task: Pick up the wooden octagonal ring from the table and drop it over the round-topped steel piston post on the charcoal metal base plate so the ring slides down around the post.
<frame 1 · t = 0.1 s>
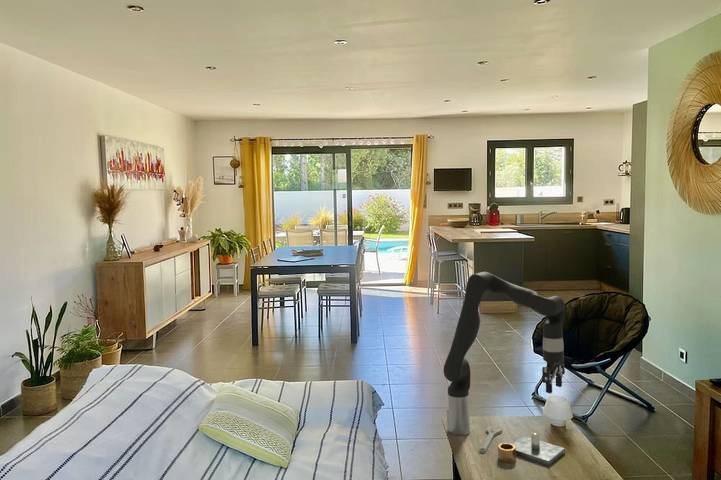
hand: (554, 389, 204), 29 cm above the table, fingers open, 8 cm apart
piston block: (535, 452, 215), on the table
wooden octagonal ring: (507, 458, 211), on the table
adjustable wrench: (487, 441, 229), on the table
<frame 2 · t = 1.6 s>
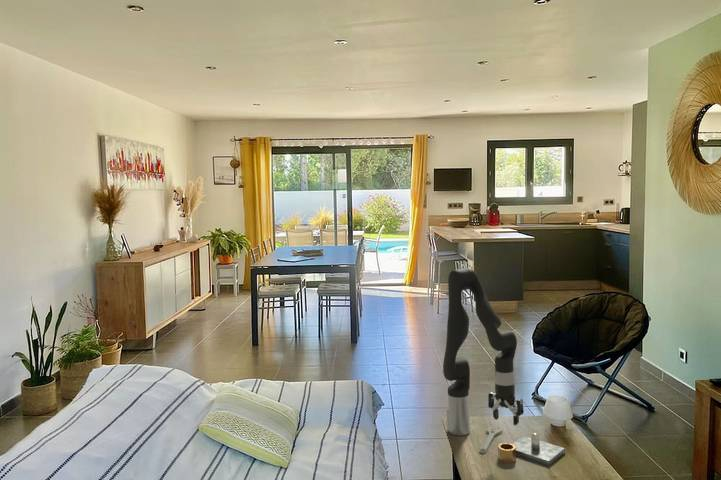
hand: (506, 421, 210), 15 cm above the table, fingers open, 8 cm apart
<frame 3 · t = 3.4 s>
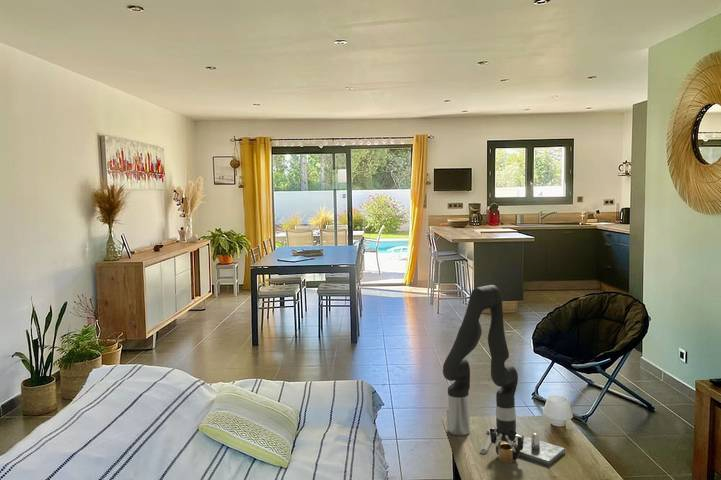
hand: (507, 457, 211), 1 cm above the table, fingers closed on wooden octagonal ring, 6 cm apart
wooden octagonal ring: (507, 458, 211), on the table, touching gripper
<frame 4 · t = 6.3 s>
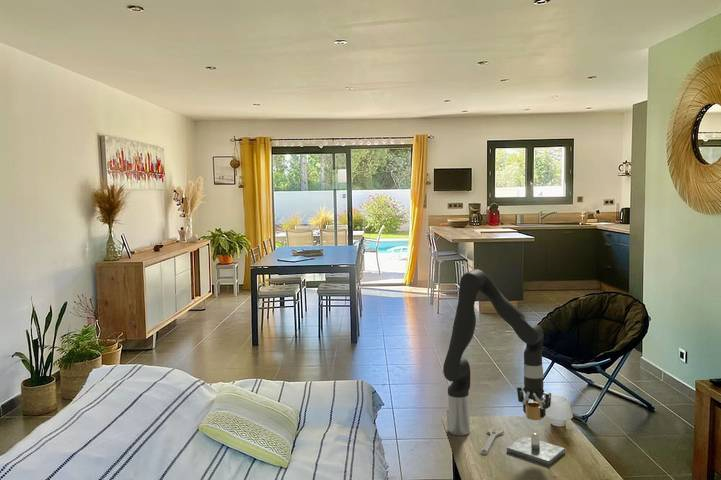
hand: (534, 415, 214), 16 cm above the table, fingers closed on wooden octagonal ring, 6 cm apart
wooden octagonal ring: (534, 416, 214), point 15 cm above the table, touching gripper
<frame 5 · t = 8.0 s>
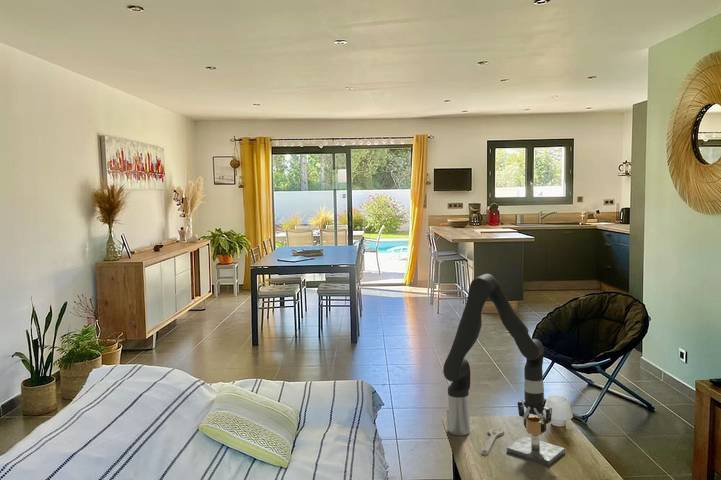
hand: (535, 429, 215), 10 cm above the table, fingers closed on wooden octagonal ring, 6 cm apart
wooden octagonal ring: (535, 431, 215), point 9 cm above the table, touching gripper
when the fingers open (6 cm above the table, at t = 9.5 s): wooden octagonal ring drops 3 cm, resting on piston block.
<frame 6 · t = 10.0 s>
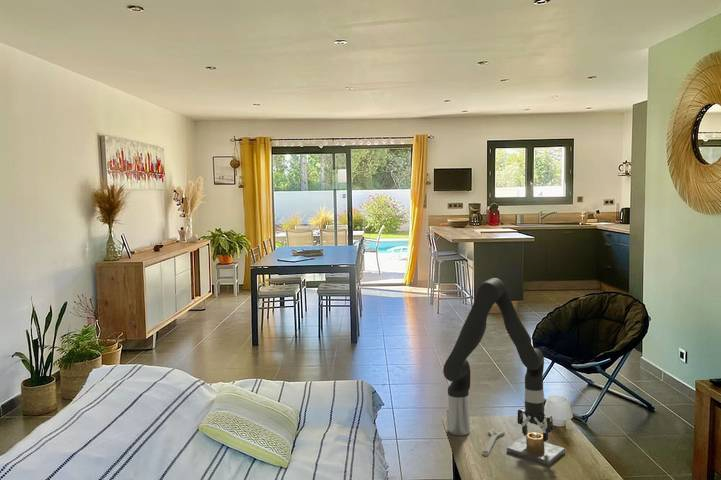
hand: (535, 437, 215), 6 cm above the table, fingers open, 8 cm apart
wooden octagonal ring: (535, 447, 215), point 2 cm above the table, touching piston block
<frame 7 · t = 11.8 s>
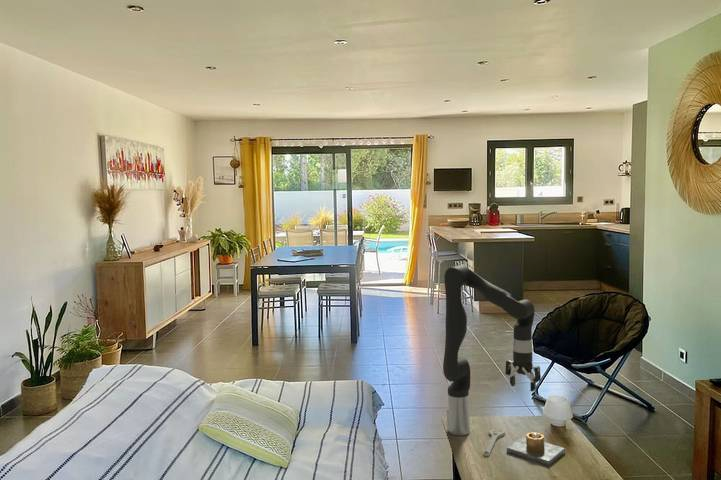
hand: (522, 388, 216), 26 cm above the table, fingers open, 8 cm apart
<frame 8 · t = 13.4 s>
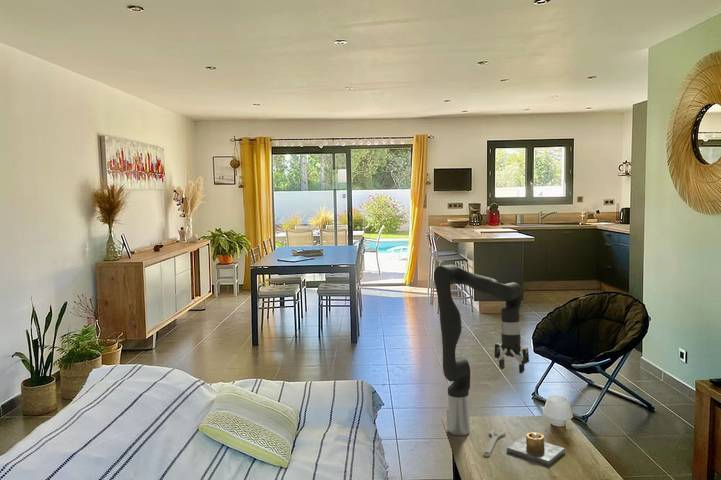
hand: (511, 370, 217), 33 cm above the table, fingers open, 8 cm apart
at the end: wooden octagonal ring 0.1 cm from the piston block (horizontally); wooden octagonal ring point 2.0 cm above the table; the gripper is holding nothing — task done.
